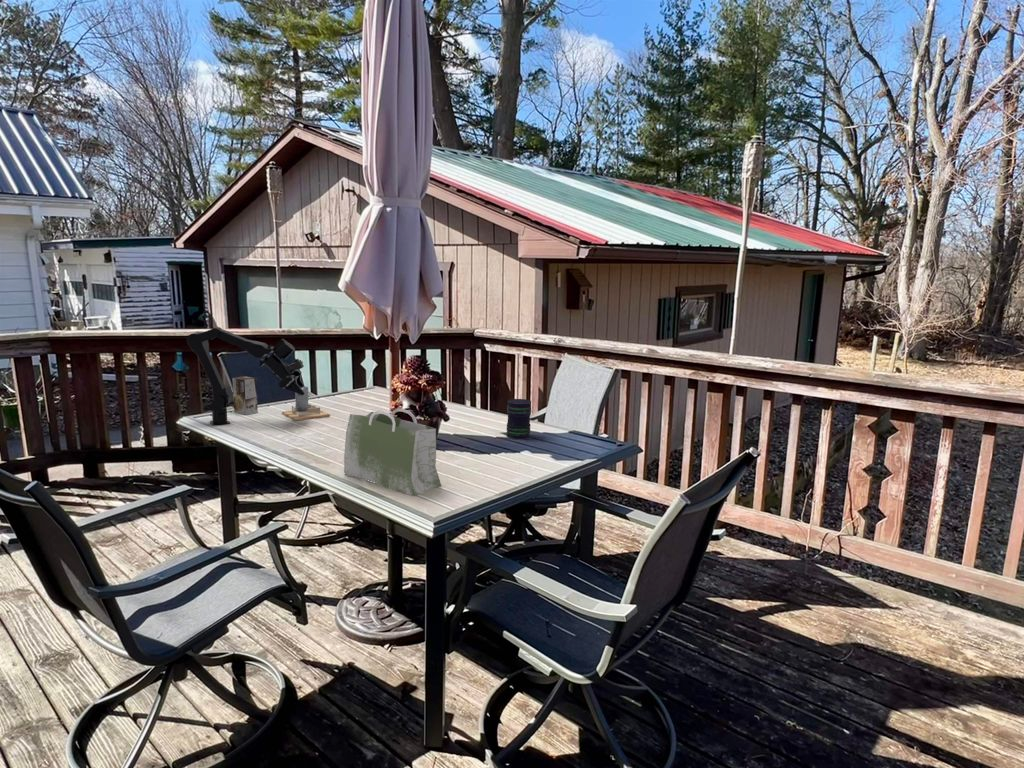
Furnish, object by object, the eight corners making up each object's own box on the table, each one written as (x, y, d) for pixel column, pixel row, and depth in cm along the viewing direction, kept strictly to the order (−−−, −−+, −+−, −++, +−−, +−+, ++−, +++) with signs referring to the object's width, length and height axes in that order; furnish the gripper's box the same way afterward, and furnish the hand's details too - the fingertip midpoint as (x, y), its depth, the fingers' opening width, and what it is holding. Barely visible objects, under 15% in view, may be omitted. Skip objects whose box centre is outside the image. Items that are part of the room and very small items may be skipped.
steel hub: (293, 410, 268) (292, 387, 266) (304, 408, 272) (304, 385, 270) (299, 412, 264) (299, 388, 263) (310, 410, 268) (310, 387, 266)
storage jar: (502, 437, 258) (503, 401, 256) (512, 432, 267) (513, 397, 264) (524, 440, 254) (525, 404, 251) (533, 435, 263) (535, 400, 260)
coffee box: (258, 412, 286) (257, 377, 284) (245, 415, 281) (244, 379, 278) (246, 410, 291) (244, 375, 288) (233, 412, 286) (231, 377, 283)
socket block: (282, 414, 286) (281, 405, 285) (316, 410, 296) (316, 401, 295) (295, 421, 273) (294, 412, 273) (330, 416, 283) (330, 408, 283)
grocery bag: (444, 485, 198) (445, 413, 194) (413, 496, 187) (414, 420, 183) (373, 465, 216) (373, 398, 212) (341, 474, 205) (340, 405, 201)
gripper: (286, 356, 254) (314, 383, 257) (296, 350, 273) (322, 376, 276) (266, 375, 255) (295, 402, 258) (278, 368, 273) (304, 393, 276)
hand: (305, 393), depth 267 cm, fingers closed on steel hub, 5 cm apart
